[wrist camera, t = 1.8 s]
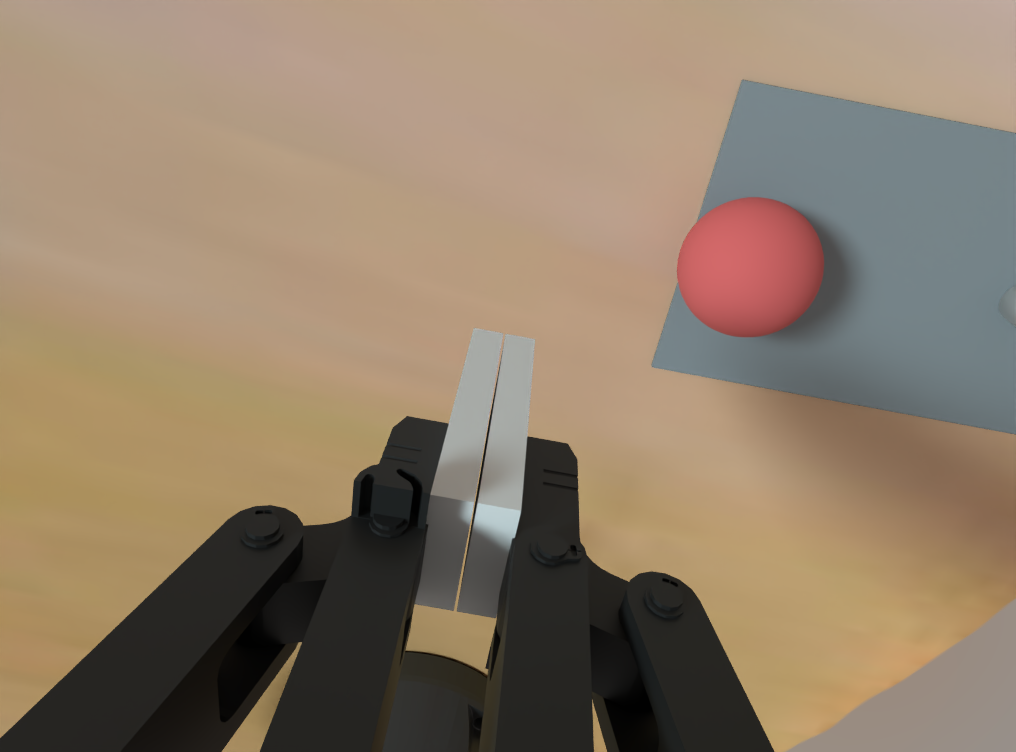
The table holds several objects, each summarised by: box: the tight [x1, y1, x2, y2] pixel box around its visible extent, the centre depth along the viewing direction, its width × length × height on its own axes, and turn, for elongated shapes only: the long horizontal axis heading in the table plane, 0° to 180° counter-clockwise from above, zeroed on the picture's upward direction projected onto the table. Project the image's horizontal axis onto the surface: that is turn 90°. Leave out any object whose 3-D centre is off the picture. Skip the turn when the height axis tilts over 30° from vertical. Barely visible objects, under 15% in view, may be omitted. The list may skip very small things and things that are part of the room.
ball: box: [677, 197, 824, 337], centre depth 30 cm, size 6×6×6 cm
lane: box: [652, 80, 1016, 434], centre depth 32 cm, size 14×26×1 cm, turn 80°
